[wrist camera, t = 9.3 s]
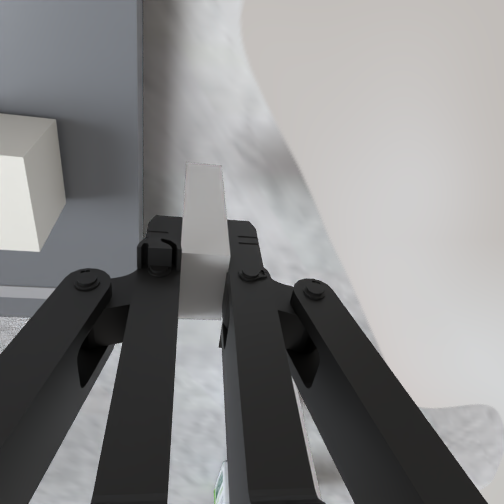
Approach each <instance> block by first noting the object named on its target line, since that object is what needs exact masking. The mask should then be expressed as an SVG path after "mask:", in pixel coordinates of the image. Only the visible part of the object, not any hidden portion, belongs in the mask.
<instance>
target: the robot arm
mask: <svg viewBox="0 0 504 504" xmlns="http://www.w3.org/2000/svg"><path fill="white" fill-rule="evenodd" d="M221 317H223V322H222V328H221V335H220V342H219V348H222V362H223V382H224V403H225V423H226V444H227V464H228V484H229V504H325V503H324V502H323V501H321V500H320V499H319V498H318V496H317V494H316V490H315V487H314V482H313V477H312V472H311V467H310V463H309V458H308V453H307V448H306V444H305V439H304V434H303V429H302V425H301V420H300V415H299V410H298V405H297V401H296V396H295V391H294V386H293V382H292V378H293V380H294V382H295V384H296V386H297V388H298V390H299V392H300V394H301V396H302V398H303V400H304V402H305V404H306V406H307V408H308V410H309V412H310V414H311V416H312V418H313V420H314V422H315V424H316V426H317V428H318V430H319V433H320V435H321V437H322V439H323V441H324V443H325V445H326V447H327V449H328V451H329V453H330V455H331V457H332V459H333V461H334V463H335V465H336V467H337V469H338V471H339V473H340V475H341V477H342V479H343V481H344V483H345V485H346V487H347V489H348V491H349V493H350V495H351V497H352V499H353V501H354V503H355V504H488V503H487V502H486V500H485V499H484V498H483V497H482V495H481V494H480V492H479V491H478V489H477V488H476V487H475V485H474V484H473V482H472V481H471V480H470V478H469V477H468V476H467V474H466V473H465V471H464V470H463V469H462V467H461V466H460V465H459V463H458V462H457V460H456V459H455V458H454V456H453V455H452V454H451V452H450V451H449V449H448V448H447V447H446V445H445V444H444V443H443V441H442V440H441V438H440V437H439V436H438V434H437V433H436V432H435V430H434V429H433V427H432V426H431V425H430V423H429V422H428V421H427V419H426V418H425V416H424V415H423V414H422V412H421V411H420V410H419V408H418V407H417V405H416V404H415V403H414V401H413V400H412V398H411V397H410V396H409V394H408V393H407V392H406V390H405V389H404V388H403V386H402V385H401V383H400V382H399V381H398V379H397V378H396V376H395V375H394V374H393V372H392V371H391V370H390V368H389V367H388V365H387V364H386V363H385V361H384V360H383V359H382V357H381V356H380V354H379V353H378V352H377V350H376V349H375V348H374V346H373V345H372V343H371V342H370V341H369V339H368V338H367V337H366V335H365V334H364V332H363V331H362V330H361V328H360V327H359V326H358V324H357V323H356V321H355V320H354V319H353V317H352V316H351V315H350V313H349V312H348V310H347V309H346V308H345V306H344V305H343V304H342V302H341V301H340V299H339V298H338V297H337V295H336V294H335V293H334V291H333V290H332V289H331V288H330V287H329V286H328V285H327V284H325V283H323V282H321V281H319V280H315V279H302V280H299V281H298V282H297V283H295V285H294V287H292V286H288V285H284V284H281V283H278V282H276V281H274V280H273V279H271V277H270V274H269V272H268V271H267V270H266V269H265V268H264V267H263V263H262V258H261V253H260V248H259V243H258V239H257V233H256V229H255V228H254V226H253V225H252V224H251V223H250V222H249V221H237V220H227V215H226V205H225V195H224V184H223V174H222V166H220V165H210V164H200V163H189V162H187V163H186V177H185V192H184V207H183V217H171V216H158V215H156V216H155V217H154V218H153V219H152V220H151V221H150V222H149V224H148V230H147V235H146V238H145V239H144V240H142V241H141V242H139V244H138V246H137V270H135V271H134V272H133V273H131V274H128V275H126V276H122V277H116V278H110V276H109V275H108V274H107V273H106V272H105V271H102V270H99V269H95V268H85V269H79V270H76V271H74V272H71V273H70V274H69V275H67V276H66V277H65V278H64V279H63V280H62V282H61V283H60V284H59V285H58V286H57V288H56V289H55V290H54V291H53V292H52V294H51V295H50V296H49V297H48V298H47V299H46V301H45V302H44V303H43V304H42V305H41V307H40V308H39V309H38V310H37V311H36V313H35V314H34V315H33V316H32V317H31V319H30V320H29V321H28V322H27V323H26V325H25V326H24V327H23V328H22V329H21V331H20V332H19V333H18V334H17V335H16V337H15V338H14V339H13V340H12V341H11V342H10V344H9V345H8V346H7V347H6V348H5V350H4V351H3V352H2V353H1V354H0V504H28V503H29V501H30V500H31V498H32V496H33V494H34V492H35V491H36V489H37V487H38V485H39V483H40V481H41V480H42V478H43V476H44V474H45V472H46V471H47V469H48V467H49V465H50V463H51V461H52V460H53V458H54V456H55V454H56V452H57V450H58V449H59V447H60V445H61V443H62V441H63V440H64V438H65V436H66V434H67V432H68V430H69V429H70V427H71V425H72V423H73V421H74V420H75V418H76V416H77V414H78V412H79V410H80V409H81V407H82V405H83V403H84V401H85V400H86V398H87V396H88V394H89V392H90V390H91V389H92V387H93V385H94V383H95V381H96V380H97V378H98V376H99V374H100V372H101V370H102V369H103V367H104V365H105V363H106V361H107V360H108V358H109V356H110V354H111V352H112V350H113V348H114V345H115V344H117V343H121V342H123V343H122V348H121V353H120V359H119V364H118V369H117V374H116V379H115V384H114V389H113V394H112V399H111V404H110V410H109V415H108V420H107V425H106V430H105V435H104V440H103V445H102V450H101V455H100V461H99V466H98V471H97V476H96V481H95V486H94V491H93V496H92V501H91V504H167V498H168V481H169V464H170V446H171V429H172V412H173V395H174V378H175V361H176V344H177V326H178V319H198V320H221ZM291 376H292V377H291Z"/></svg>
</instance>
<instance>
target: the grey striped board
mask: <svg viewBox="0 0 504 504" xmlns="http://www.w3.org/2000/svg"><path fill="white" fill-rule="evenodd" d="M0 113H2V114H11V115H21V116H30V117H39V118H48V119H56V124H57V132H58V140H59V148H60V157H61V165H62V173H63V181H64V189H65V198H66V204H65V206H64V208H63V210H62V211H61V213H60V215H59V217H58V219H57V221H56V223H55V225H54V226H53V228H52V230H51V232H50V234H49V236H48V238H47V240H46V241H45V243H44V245H43V247H42V249H41V251H40V252H33V251H16V250H0V317H30V318H31V317H32V316H33V315H34V314H35V313H36V311H37V310H38V309H39V308H40V307H41V305H42V304H43V303H44V302H45V301H46V299H47V298H48V297H49V296H50V295H51V294H52V292H53V291H54V290H55V289H56V288H57V286H58V285H59V284H60V283H61V282H62V280H63V279H64V278H65V277H66V276H67V275H69V274H70V273H71V272H74V271H76V270H79V269H85V268H95V269H99V270H102V271H105V272H106V273H107V274H108V275H109V276H110V278H116V277H122V276H126V275H128V274H131V273H133V272H134V271H135V270H137V246H138V244H139V242H141V241H142V240H143V0H0Z"/></svg>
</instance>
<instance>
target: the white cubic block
mask: <svg viewBox="0 0 504 504" xmlns="http://www.w3.org/2000/svg"><path fill="white" fill-rule="evenodd" d="M65 204H66V198H65V189H64V181H63V173H62V165H61V157H60V148H59V140H58V132H57V124H56V119H48V118H39V117H30V116H21V115H11V114H2V113H0V250H16V251H33V252H40V251H41V249H42V247H43V245H44V243H45V241H46V240H47V238H48V236H49V234H50V232H51V230H52V228H53V226H54V225H55V223H56V221H57V219H58V217H59V215H60V213H61V211H62V210H63V208H64V206H65Z"/></svg>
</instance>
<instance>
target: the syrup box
mask: <svg viewBox="0 0 504 504" xmlns="http://www.w3.org/2000/svg"><path fill="white" fill-rule="evenodd" d="M214 504H229V484H228V464H227V461H224V462H223V464H222V468H221V471H220V473H219V476H218V479H217V483H216V486H215V490H214Z"/></svg>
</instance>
